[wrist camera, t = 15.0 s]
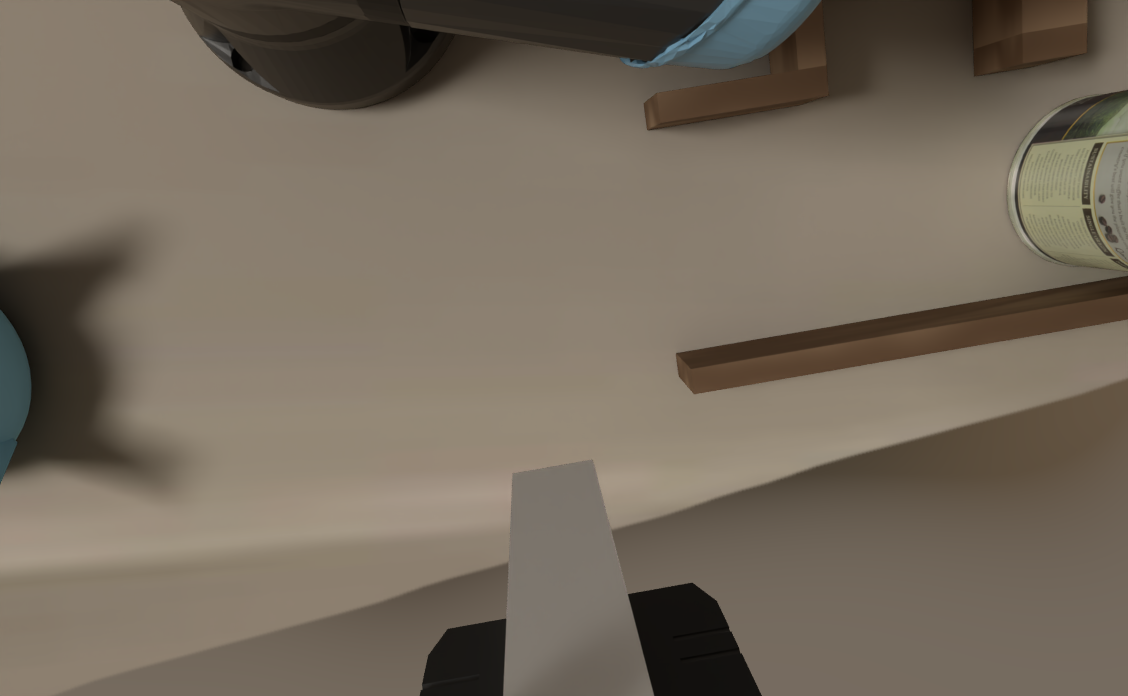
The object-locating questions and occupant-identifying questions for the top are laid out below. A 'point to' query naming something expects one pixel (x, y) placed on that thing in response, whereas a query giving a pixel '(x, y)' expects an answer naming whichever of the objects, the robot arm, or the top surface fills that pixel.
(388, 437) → the top surface
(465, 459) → the top surface
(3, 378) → the teapot
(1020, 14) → the wooden compartment tray
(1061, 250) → the coffee can
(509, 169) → the top surface
